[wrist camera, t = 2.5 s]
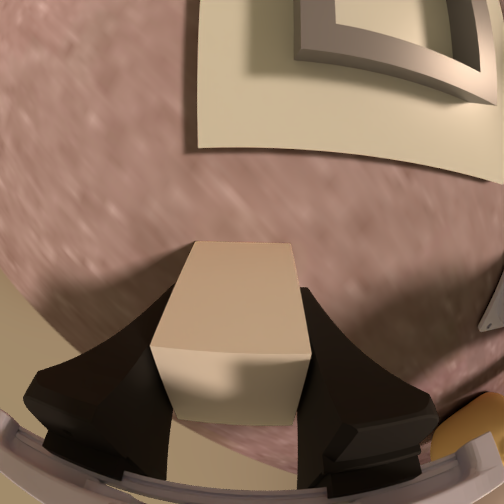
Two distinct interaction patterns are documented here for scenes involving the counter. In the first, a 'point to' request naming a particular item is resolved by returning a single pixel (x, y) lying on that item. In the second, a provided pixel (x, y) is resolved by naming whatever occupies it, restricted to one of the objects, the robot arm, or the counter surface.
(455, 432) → the sculpture
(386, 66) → the charging dock
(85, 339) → the counter surface
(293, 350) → the block
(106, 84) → the counter surface
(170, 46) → the counter surface
